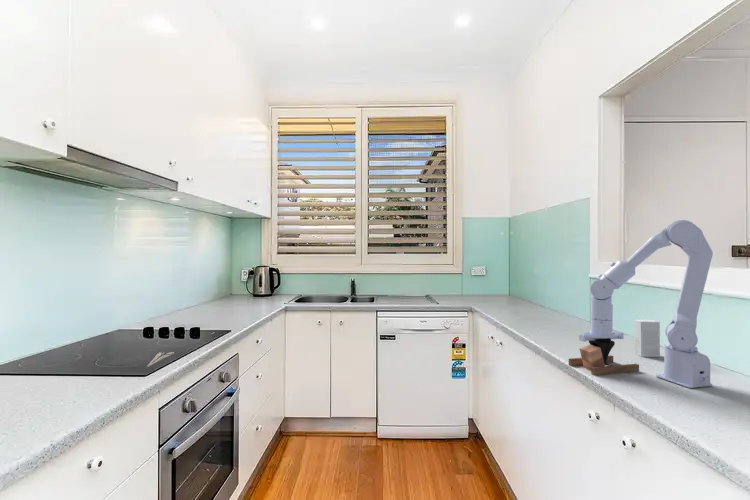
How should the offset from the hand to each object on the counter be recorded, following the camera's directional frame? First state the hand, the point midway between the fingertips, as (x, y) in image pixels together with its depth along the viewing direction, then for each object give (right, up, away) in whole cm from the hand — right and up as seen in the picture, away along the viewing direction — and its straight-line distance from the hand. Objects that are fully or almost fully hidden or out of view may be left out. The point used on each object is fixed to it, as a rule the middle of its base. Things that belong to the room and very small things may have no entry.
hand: (601, 363), depth 115 cm
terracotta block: (-2, -1, -1) cm, 3 cm away
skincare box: (+24, -2, +14) cm, 28 cm away
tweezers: (-139, -2, +6) cm, 139 cm away
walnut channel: (+1, -1, 0) cm, 2 cm away
